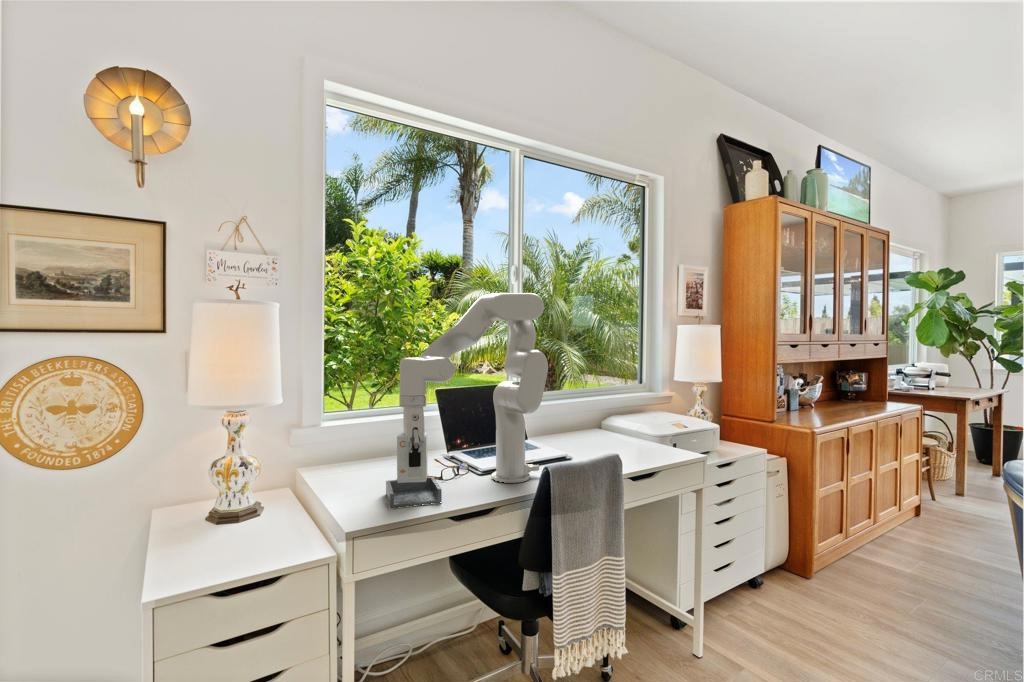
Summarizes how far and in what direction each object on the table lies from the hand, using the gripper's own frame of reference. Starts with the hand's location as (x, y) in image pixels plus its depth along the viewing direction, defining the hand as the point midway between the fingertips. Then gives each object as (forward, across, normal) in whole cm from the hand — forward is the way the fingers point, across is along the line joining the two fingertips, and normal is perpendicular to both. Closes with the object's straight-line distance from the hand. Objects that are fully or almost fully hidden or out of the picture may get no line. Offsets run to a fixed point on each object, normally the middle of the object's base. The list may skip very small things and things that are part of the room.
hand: (412, 462), depth 145 cm
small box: (+5, 0, 0) cm, 5 cm away
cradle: (+10, +1, 0) cm, 10 cm away
